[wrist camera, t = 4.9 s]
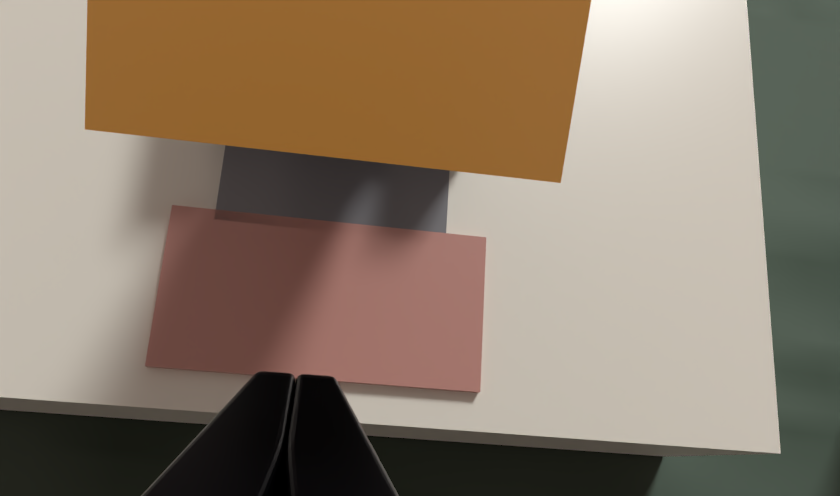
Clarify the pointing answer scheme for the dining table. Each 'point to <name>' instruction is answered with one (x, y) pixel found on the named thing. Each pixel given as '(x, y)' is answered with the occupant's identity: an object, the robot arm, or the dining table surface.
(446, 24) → the breaker lever
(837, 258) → the dining table surface
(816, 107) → the dining table surface
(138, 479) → the dining table surface
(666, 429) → the breaker housing
